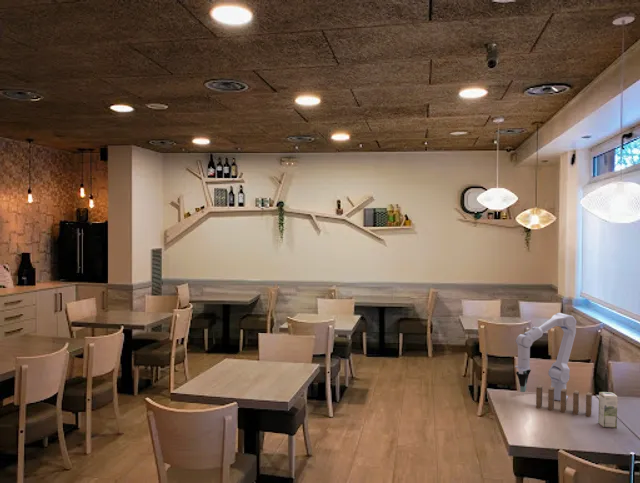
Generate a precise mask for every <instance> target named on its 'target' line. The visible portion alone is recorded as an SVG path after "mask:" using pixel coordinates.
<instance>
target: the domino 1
mask: <svg viewBox="0 0 640 483" xmlns="http://www.w3.org/2000/svg"><path fill="white" fill-rule="evenodd" d="M524 372H525V373H526V371H524ZM519 388H520V390H519V391H520V392H521V393H525V392H526V391H527V384H526V382H525V386H524V387H523V386H520V385H519Z"/></svg>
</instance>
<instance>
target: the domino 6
mask: <svg viewBox="0 0 640 483" xmlns="http://www.w3.org/2000/svg"><path fill="white" fill-rule="evenodd" d="M592 396H593V392H586V394H585V417H588V418H591V416H592V401H593V400H592Z"/></svg>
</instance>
